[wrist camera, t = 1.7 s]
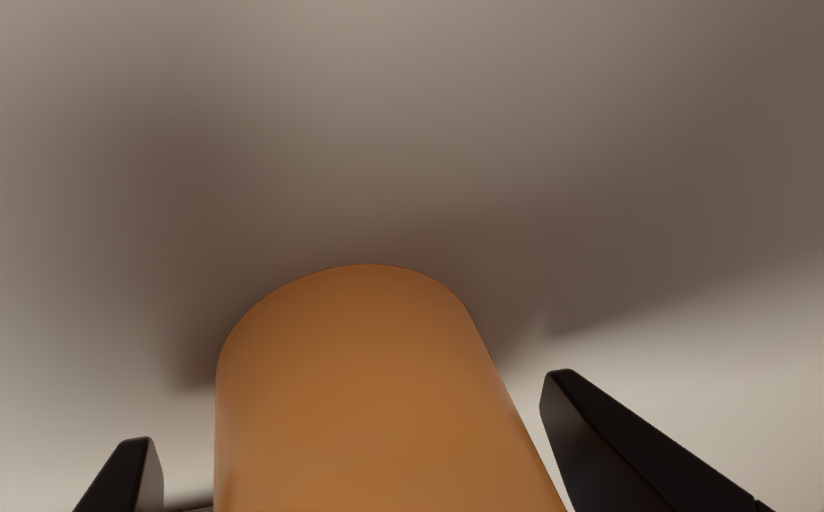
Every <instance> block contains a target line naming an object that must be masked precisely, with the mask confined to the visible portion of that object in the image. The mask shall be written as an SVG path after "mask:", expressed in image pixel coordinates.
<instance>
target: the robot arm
mask: <svg viewBox="0 0 824 512" xmlns="http://www.w3.org/2000/svg"><path fill="white" fill-rule="evenodd" d="M539 410H540V416H541V419H542V422H543V425H544V428H545V431H546V434H547V436H548V439H549V442H550V445H551V448H552V451H553V454H554V457H555V459H556V462H557V465H558V468H559V471H560V474H561V477H562V480H563V482H564V485H565V488H566V491H567V493H568V496H569V498H570V501H571V503H572V505H573V507H574V510H575V512H776V511H774V510H773V509H771V508H770V507H768V506H767V505H766V504H764V503H763V502H761V501H760V500H755V499H754V497H753V496H752V495H751V494H750V493H748V492H747V491H745V490H744V489H742V488H741V487H740V486H738V485H737V484H735V483H734V482H732V481H731V480H730V479H728V478H727V477H725V476H724V475H722V474H721V473H719V472H718V471H717V470H715V469H714V468H712V467H711V466H709V465H708V464H707V463H705V462H704V461H702V460H701V459H699V458H698V457H697V456H695V455H694V454H692V453H691V452H689V451H688V450H687V449H685V448H684V447H682V446H681V445H679V444H678V443H677V442H675V441H674V440H672V439H671V438H669V437H668V436H667V435H665V434H664V433H662V432H661V431H659V430H658V429H657V428H655V427H654V426H652V425H651V424H649V423H648V422H647V421H645V420H644V419H642V418H641V417H639V416H638V415H637V414H635V413H634V412H632V411H631V410H629V409H628V408H627V407H625V406H624V405H622V404H621V403H619V402H618V401H617V400H615V399H614V398H612V397H611V396H609V395H608V394H607V393H605V392H604V391H602V390H601V389H599V388H598V387H597V386H595V385H594V384H592V383H591V382H589V381H588V380H587V379H585V378H584V377H582V376H581V375H579V374H578V373H577V372H575V371H573V370H571V369H560V370H554V371H550V372H548V373H547V374H546V376H545V380H544V384H543V389H542V394H541V398H540V403H539ZM163 499H164V481H163V472H162V468H161V465H160V461H159V458H158V455H157V452H156V449H155V445H154V442H153V440H152V439H151V438H150V437H147V436H145V437H139V438H132V439H126V440H123V441H122V442H121V443H119V445H118V446H117V447H116V449H115V450H114V452H113V453H112V455H111V456H110V458H109V459H108V460H107V462H106V463H105V465H104V466H103V468H102V469H101V471H100V472H99V473H98V475H97V476H96V478H95V479H94V481H93V482H92V484H91V485H90V487H89V488H88V489H87V491H86V492H85V494H84V495H83V497H82V498H81V500H80V501H79V503H78V504H77V505H76V507H75V508H74V510H73V511H72V512H163Z"/></svg>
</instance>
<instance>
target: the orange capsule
mask: <svg viewBox="0 0 824 512" xmlns="http://www.w3.org/2000/svg"><path fill="white" fill-rule="evenodd" d="M213 512H567V510H566V508H565V506H564V504H563V502H562V500H561V498H560V496H559V494H558V492H557V490H556V488H555V486H554V484H553V482H552V480H551V478H550V476H549V474H548V472H547V470H546V468H545V466H544V464H543V462H542V460H541V458H540V456H539V454H538V452H537V450H536V448H535V446H534V444H533V442H532V440H531V438H530V436H529V434H528V432H527V430H526V427H525V425H524V423H523V421H522V419H521V417H520V415H519V413H518V411H517V409H516V407H515V405H514V403H513V401H512V399H511V397H510V395H509V393H508V391H507V389H506V387H505V385H504V383H503V381H502V379H501V377H500V375H499V373H498V371H497V369H496V367H495V365H494V363H493V361H492V359H491V357H490V355H489V353H488V351H487V349H486V347H485V345H484V343H483V341H482V339H481V337H480V335H479V333H478V331H477V329H476V327H475V325H474V323H473V321H472V318H471V317H470V315H469V313H468V311H467V309H466V307H465V306H464V305H463V303H462V302H461V301H460V300H459V298H458V297H457V296H456V295H455V294H454V293H453V292H452V291H450V290H449V289H448V288H447V287H446V286H444V285H443V284H441V283H440V282H438V281H436V280H435V279H433V278H431V277H429V276H426V275H424V274H422V273H420V272H416V271H413V270H410V269H406V268H402V267H396V266H391V265H381V264H357V265H346V266H340V267H334V268H329V269H325V270H321V271H318V272H314V273H311V274H308V275H306V276H303V277H301V278H298V279H296V280H293V281H291V282H289V283H287V284H285V285H283V286H282V287H280V288H278V289H276V290H274V291H273V292H271V293H270V294H268V295H267V296H266V297H264V298H263V299H261V300H260V301H259V302H257V303H256V304H255V305H254V306H253V307H252V308H251V309H249V310H248V311H247V312H246V313H245V314H244V316H243V317H242V318H241V319H240V320H239V321H238V322H237V323H236V325H235V326H234V328H233V329H232V331H231V332H230V334H229V335H228V337H227V338H226V341H225V343H224V345H223V347H222V349H221V352H220V355H219V359H218V363H217V369H216V392H215V440H214V489H213Z"/></svg>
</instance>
